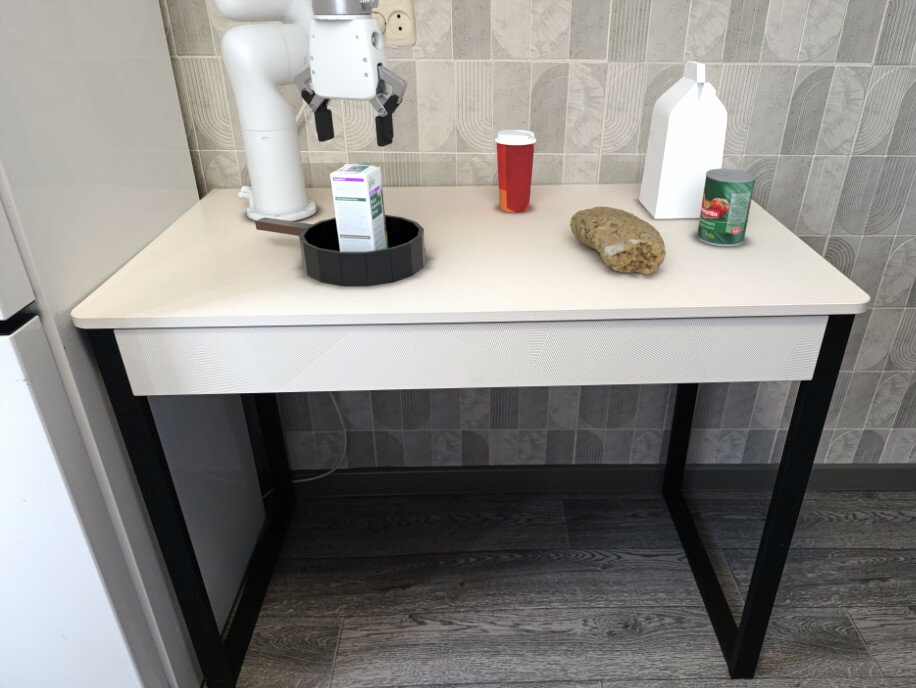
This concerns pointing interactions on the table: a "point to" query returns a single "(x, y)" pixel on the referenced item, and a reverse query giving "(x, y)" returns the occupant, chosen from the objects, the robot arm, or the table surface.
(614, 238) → the sponge
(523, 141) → the paper cup
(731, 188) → the canned tomato
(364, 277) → the pan
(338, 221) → the syrup box
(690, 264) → the table surface
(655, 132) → the milk
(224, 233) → the table surface
